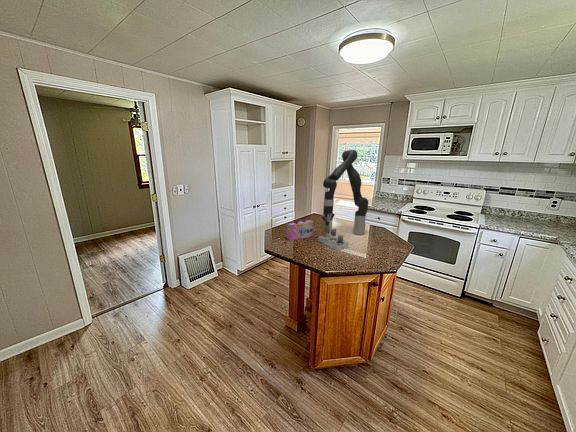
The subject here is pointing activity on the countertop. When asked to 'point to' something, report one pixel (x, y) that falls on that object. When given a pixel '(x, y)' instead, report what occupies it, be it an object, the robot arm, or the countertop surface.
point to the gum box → (299, 229)
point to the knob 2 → (340, 239)
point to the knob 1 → (327, 229)
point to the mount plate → (332, 242)
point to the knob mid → (333, 232)
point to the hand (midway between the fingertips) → (327, 225)
